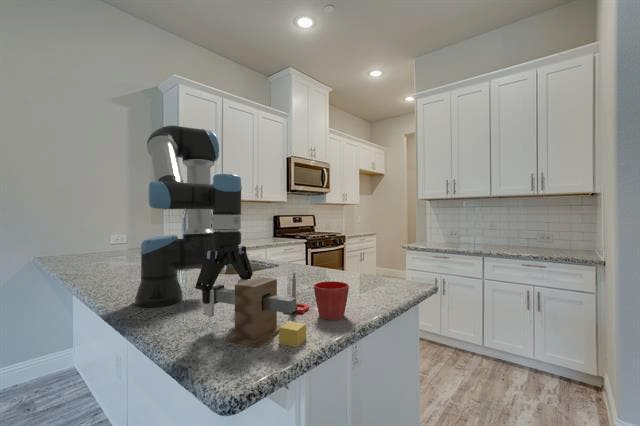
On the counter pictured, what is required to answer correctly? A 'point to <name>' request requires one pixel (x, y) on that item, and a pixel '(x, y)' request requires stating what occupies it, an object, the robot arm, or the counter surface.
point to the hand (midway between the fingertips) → (226, 308)
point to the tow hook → (300, 310)
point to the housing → (254, 312)
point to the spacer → (292, 333)
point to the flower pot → (331, 299)
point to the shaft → (268, 300)
